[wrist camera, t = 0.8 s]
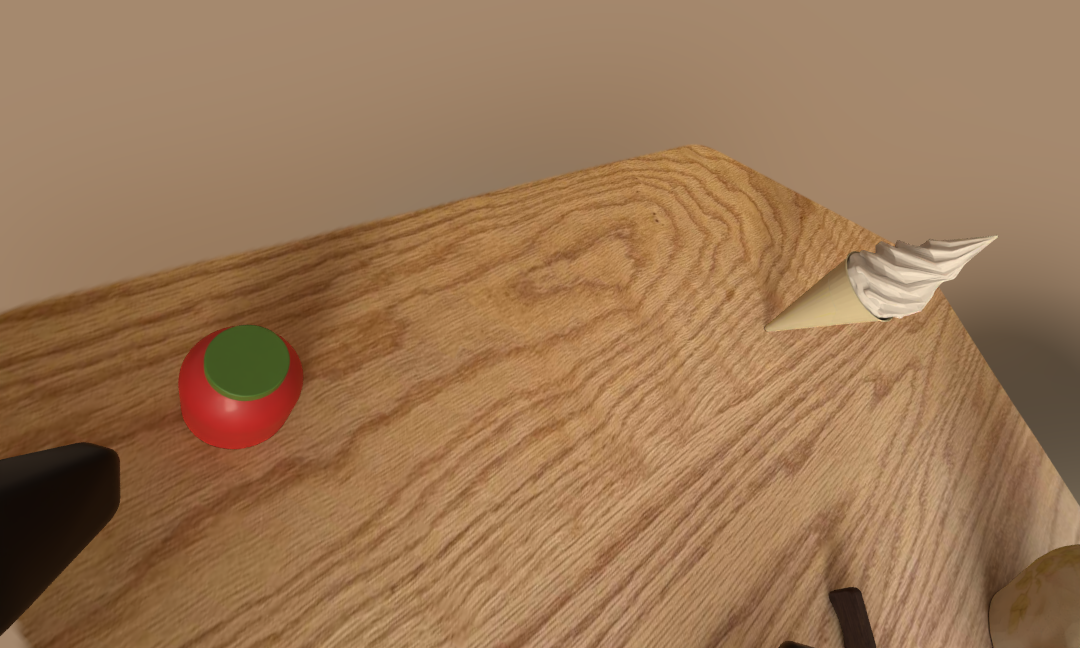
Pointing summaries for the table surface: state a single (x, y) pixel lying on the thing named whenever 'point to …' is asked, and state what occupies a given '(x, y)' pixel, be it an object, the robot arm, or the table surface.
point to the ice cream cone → (879, 284)
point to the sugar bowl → (1040, 604)
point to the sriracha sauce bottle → (239, 386)
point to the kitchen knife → (852, 617)
